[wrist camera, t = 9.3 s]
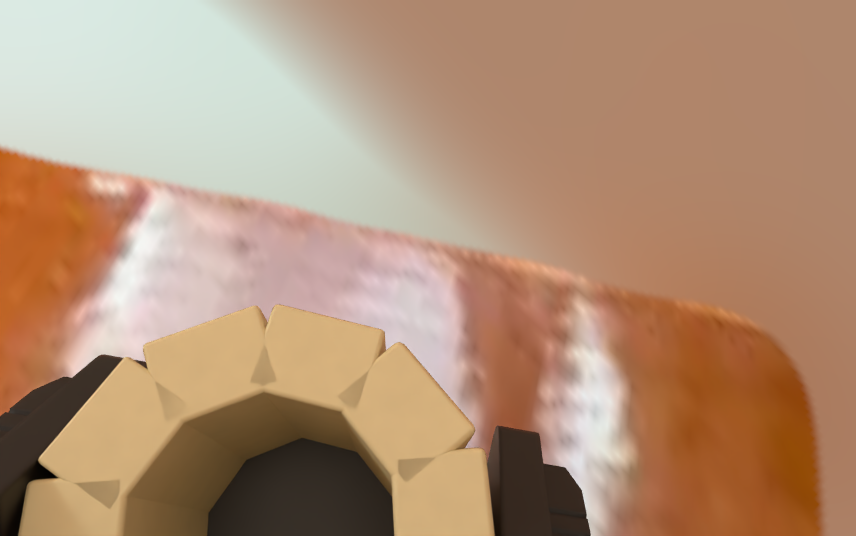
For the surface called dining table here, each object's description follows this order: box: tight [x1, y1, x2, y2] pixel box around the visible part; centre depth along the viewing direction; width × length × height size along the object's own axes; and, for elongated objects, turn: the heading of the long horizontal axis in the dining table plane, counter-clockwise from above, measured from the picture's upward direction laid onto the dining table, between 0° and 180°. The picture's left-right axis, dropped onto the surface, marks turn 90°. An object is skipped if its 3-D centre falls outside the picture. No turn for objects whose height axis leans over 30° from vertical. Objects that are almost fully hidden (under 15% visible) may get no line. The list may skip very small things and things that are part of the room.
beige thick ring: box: [18, 305, 495, 536], centre depth 10 cm, size 6×6×4 cm
